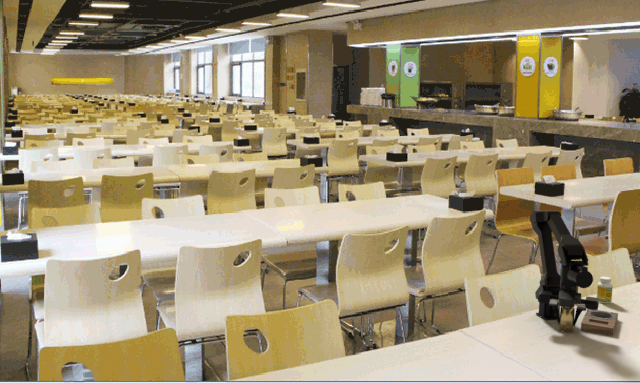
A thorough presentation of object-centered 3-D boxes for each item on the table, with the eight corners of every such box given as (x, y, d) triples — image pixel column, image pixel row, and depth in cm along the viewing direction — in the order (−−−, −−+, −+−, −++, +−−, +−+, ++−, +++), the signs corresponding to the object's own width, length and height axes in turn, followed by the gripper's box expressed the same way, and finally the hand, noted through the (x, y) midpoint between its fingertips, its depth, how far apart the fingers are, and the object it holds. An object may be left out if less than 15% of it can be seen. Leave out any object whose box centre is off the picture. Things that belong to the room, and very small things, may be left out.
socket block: (613, 335, 213) (613, 328, 213) (580, 330, 218) (581, 322, 218) (617, 319, 229) (618, 313, 228) (587, 315, 234) (587, 308, 233)
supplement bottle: (601, 299, 253) (603, 275, 252) (614, 302, 249) (616, 278, 248) (593, 301, 251) (595, 277, 249) (606, 304, 246) (607, 280, 245)
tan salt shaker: (564, 333, 215) (566, 307, 213) (556, 328, 219) (558, 303, 218) (576, 332, 216) (577, 306, 215) (567, 327, 220) (569, 302, 219)
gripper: (537, 281, 212) (534, 327, 214) (598, 289, 204) (595, 337, 206) (541, 274, 222) (538, 317, 224) (600, 281, 214) (597, 326, 216)
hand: (566, 324), depth 217 cm, fingers closed on tan salt shaker, 4 cm apart
